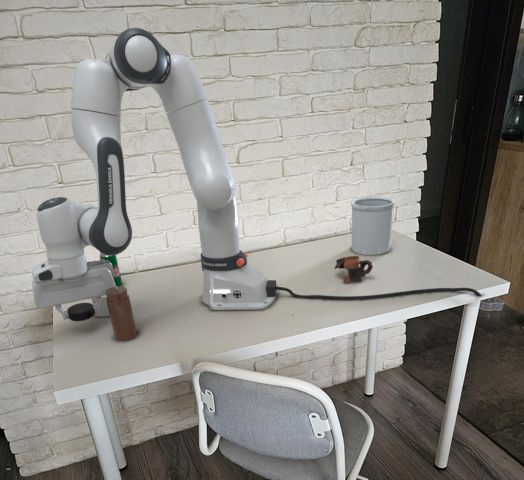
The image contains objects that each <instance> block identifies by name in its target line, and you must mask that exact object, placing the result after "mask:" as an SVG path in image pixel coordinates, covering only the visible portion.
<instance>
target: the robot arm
mask: <svg viewBox="0 0 524 480" xmlns="http://www.w3.org/2000/svg"><path fill="white" fill-rule="evenodd" d="M196 69H197V68H195V65H194V64H193V62H192V60H191V59H190V58H189V57H188V56H186V55H183V54H179V53H173V54H170V52H169V50H167V48H165V47H164V46H163V45H162V44H161V42H160V41H159V40H158V39H157V38H156V37H155V36H154V35H153V34H152V33H151V32H149V31H147V30H146V29H143V28H140V27H131V28H127V29H125V30H123V31H122V32H121V33H119V35H118V36H117V37H116V38H115V39H114V41H113V43H112V44H111V47H110V49H109V51H108V52H107V55H106V57H105V58H104V59H98V58H87V59H84V60H82V61H80V62H79V63H77V65H76V67H75V71H74V75H73V82H72V88H71V89H72V90H71V100H70V101H71V102H70V103H71V104H70V106H71V108H70V109H71V110H70V111H71V113H70V117H71V118H70V119H71V128H72V134H73V139H74V141H75V142H76V144H77V146H78V147H79V148H80V149H81V150H82V151H83V153H85V155H86V156H87V157H88V158H89V160H90V162H91V163H92V166H93V167H94V171H95V175H96V192H97V206H96V205H89V204H83V203H79V202H76V201H73V200H71V199H68V197H64V196H60V197H59V196H58V197H53V198H50V199H47V200H45V201H43V202H42V203H40V204H39V206H38V207H37V208H36V218H37V224H38V230H39V233H40V237H41V241H42V243H43V244H44V246H45V249H46V258H47V260H45V261H43V262H40V263H38V264H37V265H34V266H33V267H32V268H31V276H32V278H33V280H32V284H31V286H32V295H33V299H34V304H35V307H36V308H38V309H40V310H43V309H47V308H52V307H55V310H56V311H57V312H58V313H60V314H61V315H62V317H63V321H65V320H70V318H69V314H68V312H67V310H64V309H63V307H62V305H65V304H71V303H75V302H79V301H80V302H81V301H85V300H89V299H91V298H96V300H97V301H96V304H95V305H93V304H92V305H93V308H94V312H95V313H97V312H100V308H99V306H100V303H101V301H102V298H101V296H104V295H106V293H105V292H106V290H107V289H109V288H112V287H116V285H115V282H114V279H113V277H112V273H113V267H112V264H111V262H109V261H107V260H105V259H101V260H100V259H98V260H91V261H87V257H86V254H85V248H86V247H89V246H91V247H93V248H94V249H96V250H97V251H99V253H100V252H101V253H103V254H106V255H116V256H117V255H119V254H121V253H123V252H124V251H125V250H126V249H127V248H128V247H129V246H130V244H131V241H132V238H133V227H132V224H131V222H130V219H129V216H128V212H127V211H128V210H127V196H126V174H125V161H124V160H125V159H124V153H123V148H122V147H123V146H122V130H121V129H122V125H121V124H122V101H123V97H124V94H125V92H132V91H138V90H141V89H144V88H146V87H150V88H152V90H154V91H155V92H156V93H157V95H158V97H159V99H160V100H161V102H162V106H163V109H164V112H165V115H166V117H167V120H168V122H169V125H170V128H171V131H172V134H173V136H174V138H175V141H176V144H177V147H178V149H179V153H180V157H181V160H182V164H183V168H184V170H185V173H186V176H187V179H188V183H189V186H190V188H191V191H192V194H193V197H194V199H195V200H196V207H197V209H196V210H197V221H198V222H197V225H198V233H199V241H200V242H199V243H200V251H201V253H200V266H201V269H202V270H201V271H202V272H203V273H202V274H203V287H202V295H201V301H202V302H203V303H204V304H205V305H207V306H209V308H210V309H211V310H212V311H250V310H251V311H252V310H253V311H254V310H255V311H256V310H264V309H266V308H268V307H269V306H271V305H272V304H273V303H274V302H275V300H276V299H277V291H284V292H287V293H289V294H290V296H291V297H294V298H297V299H306V300H307V299H308V300H309V299H322V300H338V301H339V300H341V301H342V300H345V301H347V300H348V301H349V300H350V301H351V300H354V301H355V300H370V299H371V300H372V299H380V298H382V299H383V298H390V297H396V296H397V297H398V296H405V295H413V294H425V293H434V292H469V293H473V294H475V295H476V296H477V297H482V294H481V293H480V292H479V291H478V290H476V289H474V288H471V287H433V288H423V289H412V290H404V291H396V292H388V293H381V294H369V295H355V296H354V295H350V296H345V295H342V296H341V295H322V294H308V295H307V294H306V295H305V294H304V295H303V294H297V293H294V292H293V290H291V289H290V288H288V287H284V286H278V285H277V280H276V279H268V278H267V277H266V275H265V274H264V273H263V272H261V271H260V270H259V269H256V268H255V267H254V266H252V265H251V264H249V263H248V257H249V252H246V253H244V251H242V250H241V248H240V247H241V246H240V235H239V224H238V212H237V210H238V209H237V200H236V199H237V198H236V187H235V185H236V184H235V176H234V172H233V169H232V167H231V166H230V164H229V161H228V158H227V156H226V152H225V148H224V146H223V142H222V139H221V136H220V132H219V128H218V126H217V123H216V120H215V117H214V113H213V111H212V107H211V104H210V101H209V99H208V96H207V92H206V89H205V87H204V85H203V82H202V80H201V78H200V76H199V73H198V72H197V70H196ZM106 262H107V263H106Z"/></svg>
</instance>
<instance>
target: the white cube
mask: <svg viewBox="0 0 524 480" xmlns="http://www.w3.org/2000/svg"><path fill="white" fill-rule="evenodd" d="M101 298H102V301H101V303H100V306H99V308H100V312H97V313H95V317H98V318H99V317H110V315H109V311H108V306H107V302H106V298H107V297H106V295H104V296H101ZM90 299H91V302H92V303H91V304H92V305H95V304H96V301H97V300H96V298H90Z"/></svg>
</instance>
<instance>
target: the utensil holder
mask: <svg viewBox="0 0 524 480" xmlns="http://www.w3.org/2000/svg"><path fill="white" fill-rule="evenodd" d="M395 203H396V201H395V199H393V198H391V197H387V196H379V195H378V196H376V195H375V196H373V195H372V196H362V197H358V198H355V199H352V200H351V203H350V206H351V250H352V252H354V253H355V254H359V255H363V256H378V255H383V254H386V253H388V252H389V251H390V248H391V240H392V230H393V218H394V208H395V205H396V204H395Z"/></svg>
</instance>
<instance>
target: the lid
mask: <svg viewBox="0 0 524 480" xmlns="http://www.w3.org/2000/svg"><path fill="white" fill-rule="evenodd" d="M66 311H67V312H68V314H69V318H70V319H69V320H70V321H71V322H85V321H87V320H90V319H92V318H93V317H94V316H96V314H95V312H94V308H93V303H91V302H79V303H76V304H72V305H70V306H69V307H68V308H67V310H66Z"/></svg>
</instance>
